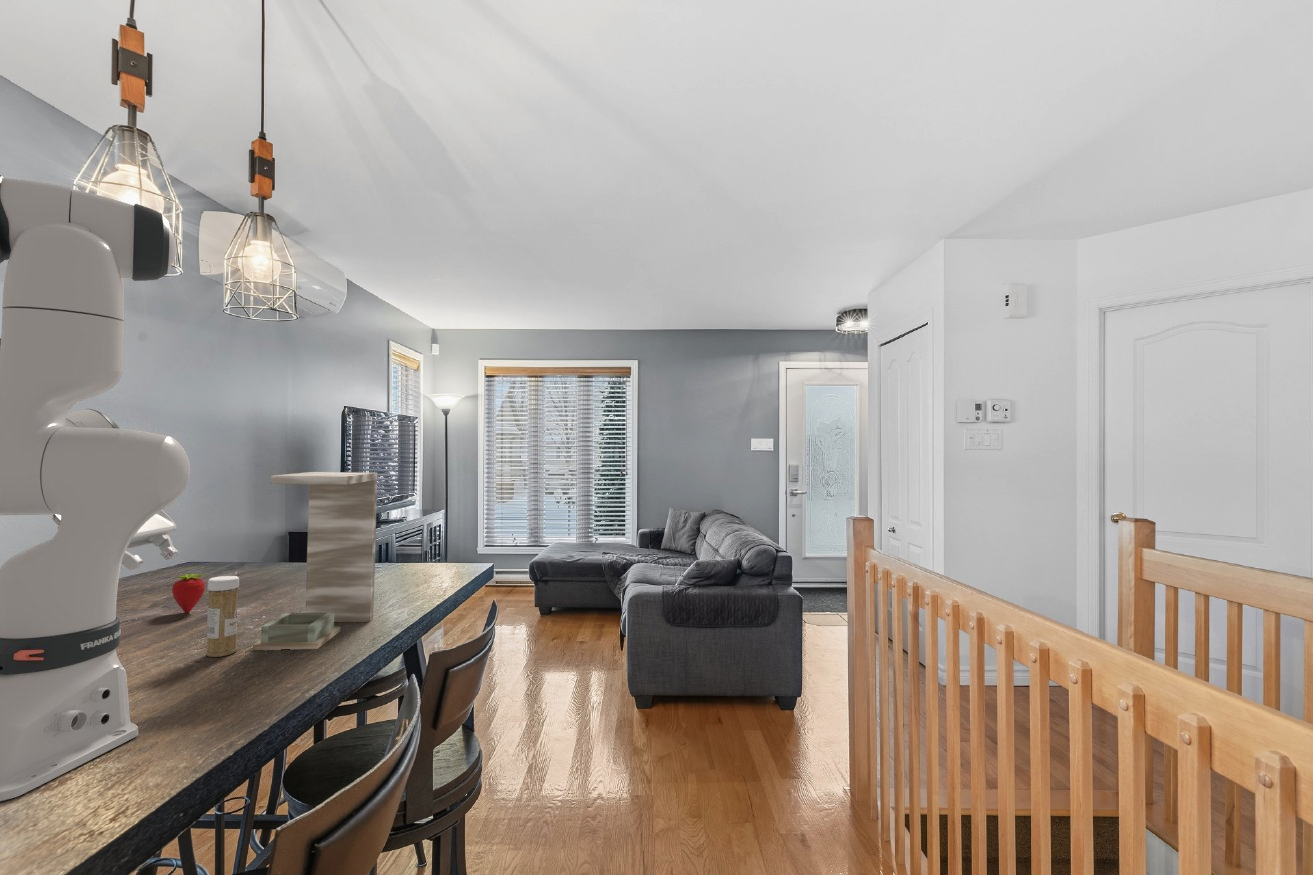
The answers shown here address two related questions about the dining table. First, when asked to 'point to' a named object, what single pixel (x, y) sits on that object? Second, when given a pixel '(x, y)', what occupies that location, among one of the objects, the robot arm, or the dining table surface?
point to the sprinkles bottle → (222, 616)
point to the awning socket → (331, 560)
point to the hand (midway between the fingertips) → (156, 561)
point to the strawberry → (188, 591)
